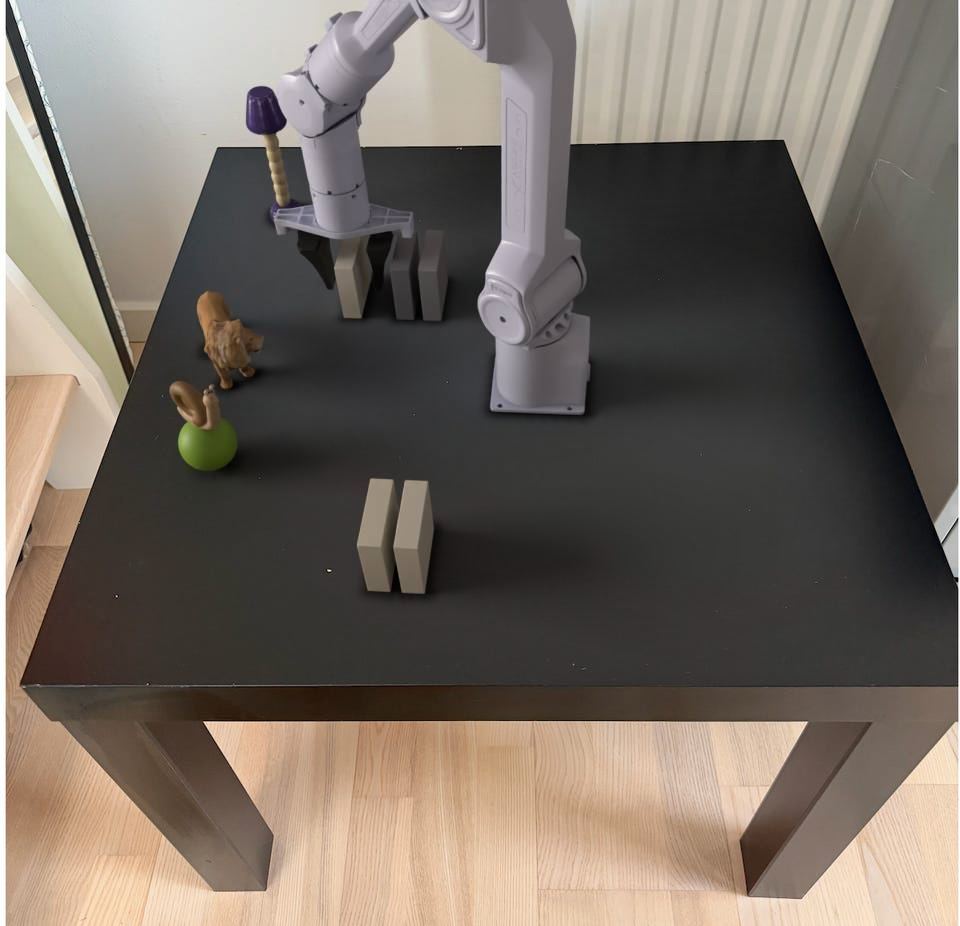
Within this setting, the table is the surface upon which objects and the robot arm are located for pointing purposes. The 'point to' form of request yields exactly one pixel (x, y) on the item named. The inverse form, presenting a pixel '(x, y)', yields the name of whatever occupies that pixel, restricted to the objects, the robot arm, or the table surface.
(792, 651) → the table surface
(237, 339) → the lion figurine
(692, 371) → the table surface
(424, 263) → the gray square slab
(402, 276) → the grey square slab
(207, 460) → the snail figurine
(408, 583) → the beige square block
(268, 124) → the toy lamp
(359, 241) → the beige square slab
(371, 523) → the beige square block
